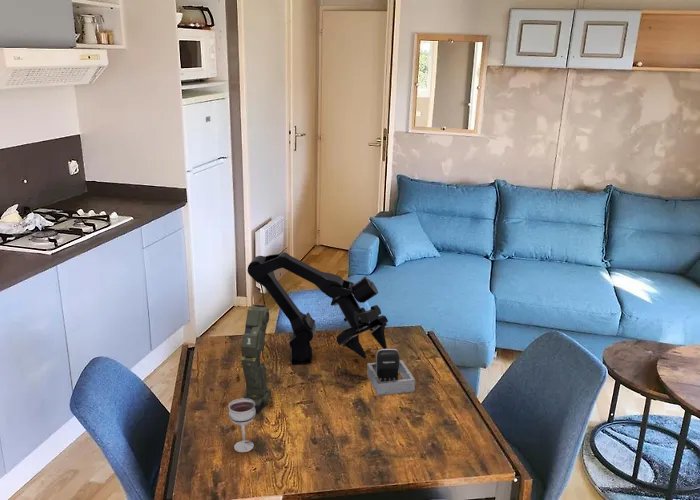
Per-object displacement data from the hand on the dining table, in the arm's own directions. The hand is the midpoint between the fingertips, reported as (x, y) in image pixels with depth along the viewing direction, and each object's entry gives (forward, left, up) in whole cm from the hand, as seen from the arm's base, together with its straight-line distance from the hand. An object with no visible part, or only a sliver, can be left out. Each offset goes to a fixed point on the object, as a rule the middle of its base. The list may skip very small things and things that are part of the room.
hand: (375, 353), depth 185 cm
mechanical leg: (-38, -7, -8) cm, 39 cm away
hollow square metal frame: (+3, -5, -8) cm, 10 cm away
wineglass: (-43, -28, -8) cm, 52 cm away
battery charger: (+2, -6, -8) cm, 10 cm away
